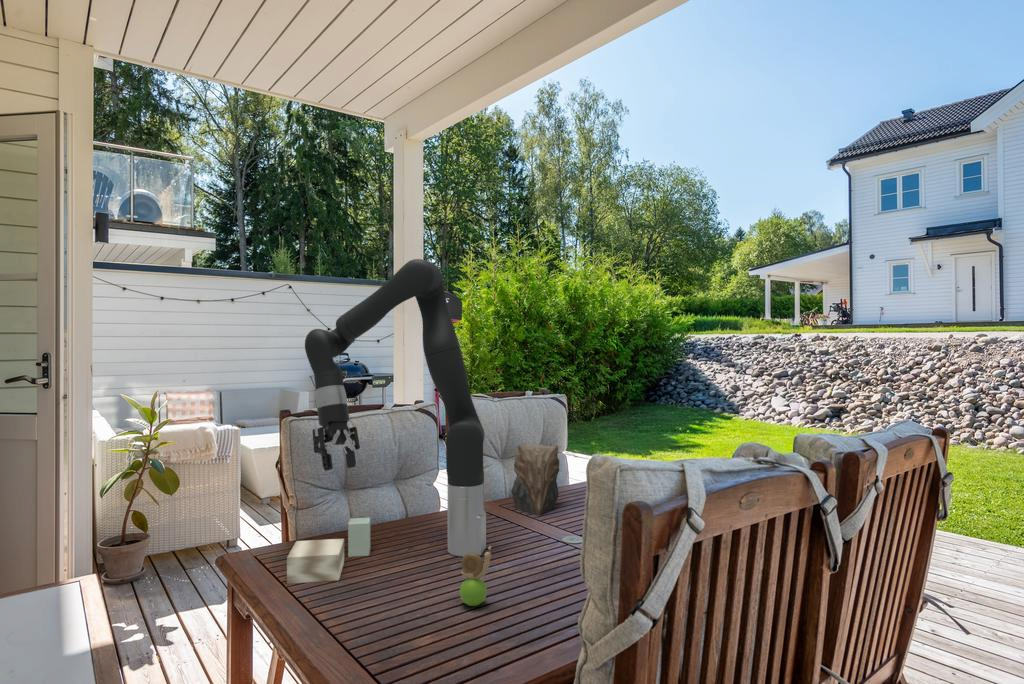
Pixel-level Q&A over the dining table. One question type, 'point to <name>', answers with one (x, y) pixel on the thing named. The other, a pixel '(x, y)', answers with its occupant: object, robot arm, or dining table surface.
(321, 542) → the birch block
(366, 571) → the dining table surface
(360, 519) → the sage block
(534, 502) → the owl
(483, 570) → the snail figurine
